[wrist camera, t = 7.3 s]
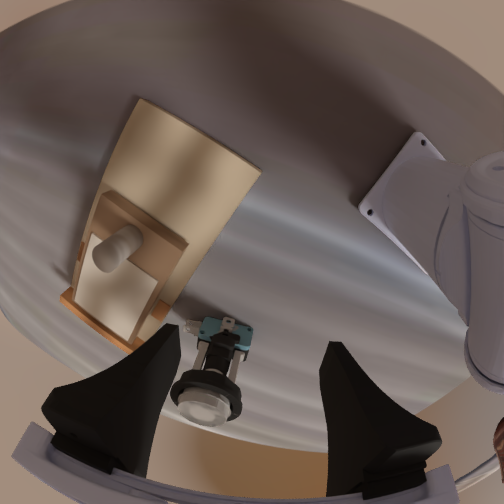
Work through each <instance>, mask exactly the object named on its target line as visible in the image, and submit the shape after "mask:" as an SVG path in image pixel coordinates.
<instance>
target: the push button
mask: <svg viewBox="0 0 504 504" xmlns="http://www.w3.org/2000/svg"><path fill="white" fill-rule="evenodd" d="M227 320H229V321H231V323H230V322H227ZM189 322H192V323H193V325H191V324H190V323H189ZM234 323H235V320H234V319H232V318H228V317H224V318H223V320H219V319H215V318H211V317H205V318H204V321H203V322H201V321H193V320H190V319H187V320H186V325H184V326H183V331H185V332H188V333H192V334H194V336H198V342H197V349H198V350H199V353H198V355H197V358H196V360H195V363H194V366H193V368H192V370H189V371H186V372H184V373H183V374H182V376H181V378H180V380H179V381H177V382H175V383H174V384H173V386H172V388H171V391H170V396H171V399H172V400H173V402H174V403H175V404H176V406H177V407H178V411H179V412H180V414H181V415H182V416H183V417H185V418H186V419H188V420H189V421H191V422H194V423H196V424H199V425H203V426H209V427H214V426H221V425H223V424H225V422H227V421H231V420H234V419H236V418H237V417H238V416H239V415H240V414H241V411H242V402H241V391H240V388H239V387H238V386H237V385H236V384H235V382H236V377H237V373H238V368H239V364H240V361H246V358H247V355H248V351H249V348H250V345H251V340H252V334H253V328H251V327H248V326H242V325H238V324H234ZM187 328H190V331H188V330H187ZM205 357H206V362H205V365H204V368H203V370H201V369H202V366H203V363H204V360H205ZM231 359H233V361H232V365H231V369H230V373H229V377H227V376H226V375H227V372H228V369H229V365H230V362H231Z"/></svg>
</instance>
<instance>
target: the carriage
mask: <svg viewBox="0 0 504 504" xmlns="http://www.w3.org/2000/svg"><path fill="white" fill-rule="evenodd" d="M188 245H189V243H187V242H186V241H184V240H183V239H181V238H180V237H179V236H177V235H176V234H174V233H173V232H171V231H170V230H168V229H167V228H165V227H164V226H163V225H161V224H160V223H158V222H157V221H155V220H154V219H152V218H151V217H150V216H148V215H147V214H145V213H144V212H142V211H141V210H140V209H138V208H137V207H135V206H134V205H133V204H131V203H130V202H128V201H127V200H125V199H124V198H123V197H121V196H120V195H118V194H117V193H116V192H114V191H113V190H109V191H107V192H105V193H102V194H101V196H100V198H99V201H98V204H97V207H96V210H95V213H94V216H93V219H92V222H91V225H90V228H89V231H88V235H87V238H86V241H85V245H84V249H83V252H82V256H81V260H80V264H79V268H78V272H77V276H76V281H75V286H74V290H73V295H72V301H73V302H75V303H76V304H77V305H78V306H79V307H81V308H82V309H83V310H84V311H86V312H87V313H88V314H89V315H91V316H92V317H93V318H95V319H96V320H97V321H98V322H100V323H101V324H102V325H104V326H105V327H106V328H108V329H109V330H110V331H112V332H113V333H115V334H116V335H117V336H119V337H120V338H122V339H123V340H125V341H126V342H127V343H129V344H130V345H132V343H133V342H134V340H135V339H136V337H137V335H138V334H139V332H140V330H141V328H142V326H143V324H144V322H145V320H146V318H147V317H148V315H149V313H150V311H151V309H152V307H153V306H154V304H155V302H156V300H157V298H158V297H159V295H160V293H161V291H162V289H163V288H164V286H165V284H166V282H167V281H168V279H169V277H170V275H171V274H172V272H173V270H174V269H175V267H176V265H177V263H178V262H179V260H180V258H181V257H182V255H183V253H184V252H185V250H186V248H187V247H188Z"/></svg>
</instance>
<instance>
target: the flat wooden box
mask: <svg viewBox="0 0 504 504" xmlns="http://www.w3.org/2000/svg"><path fill="white" fill-rule="evenodd" d="M261 173H262V170H260V169H259V168H257V167H256V166H254V165H253V164H251V163H250V162H248V161H247V160H245V159H244V158H242V157H241V156H239V155H238V154H236V153H235V152H233V151H232V150H230V149H229V148H227V147H226V146H224V145H222V144H221V143H219V142H218V141H216V140H215V139H213V138H211V137H210V136H208V135H206V134H205V133H203V132H202V131H200V130H198V129H197V128H195V127H193V126H192V125H190V124H188V123H187V122H185V121H183V120H182V119H180V118H178V117H176V116H175V115H173V114H171V113H169V112H168V111H166V110H164V109H162V108H161V107H159V106H157V105H155V104H153V103H152V102H150V101H148V100H146V99H141V98H140V99H139V101H138V103H137V104H136V106H135V108H134V110H133V112H132V114H131V116H130V118H129V120H128V122H127V124H126V126H125V128H124V130H123V132H122V134H121V136H120V138H119V140H118V142H117V144H116V147H115V149H114V151H113V153H112V156H111V158H110V160H109V163H108V165H107V167H106V170H105V172H104V175H103V177H102V180H101V183H100V185H99V188H98V191H97V193H96V196H95V199H94V202H93V205H92V208H91V211H90V214H89V217H88V220H87V224H86V227H85V230H84V234H83V237H82V241H81V244H80V248H79V252H78V256H77V260H76V264H75V269H74V273H73V278H72V283H71V286H70V287H69V288H68V289H67V290H66V291H65V292H64V293H62V294H61V295H60V302H61V303H62V304H64V305H65V306H66V307H67V308H68V309H69V310H71V311H72V312H73V313H74V314H75V315H77V316H78V317H79V318H80V319H81V320H83V321H84V322H85V323H86V324H88V325H89V326H90V327H92V328H93V329H94V330H95V331H97V332H98V333H99V334H101V335H102V336H103V337H105V338H106V339H108V340H109V341H110V342H112V343H113V344H115V345H116V346H117V347H119V348H120V349H122V350H123V351H125V352H126V353H128V354H131V353H132V352H133V351H135V350H136V349H137V348H139V347H140V346H141V345H142V344H143V343H145V342H146V341H147V340H148V339H149V338H150V337H152V336H153V335H154V334H155V333H156V331H157V330H158V328H159V327H160V325H161V323H162V322H163V320H164V318H165V317H166V315H167V314H168V312H169V310H170V309H171V307H172V306H173V304H174V302H175V301H176V299H177V298H178V296H179V295H180V293H181V291H182V290H183V288H184V287H185V285H186V284H187V282H188V280H189V279H190V277H191V276H192V274H193V273H194V271H195V270H196V268H197V267H198V265H199V263H200V262H201V260H202V259H203V257H204V256H205V254H206V253H207V251H208V250H209V248H210V247H211V245H212V244H213V242H214V241H215V239H216V238H217V236H218V235H219V233H220V232H221V230H222V229H223V227H224V226H225V225H226V223H227V222H228V220H229V219H230V217H231V216H232V214H233V213H234V211H235V210H236V208H237V207H238V206H239V204H240V203H241V201H242V200H243V198H244V197H245V196H246V194H247V193H248V191H249V190H250V188H251V187H252V186H253V184H254V183H255V181H256V180H257V179H258V177H259V176H260V174H261ZM109 190H113V191H114V192H116V193H117V194H118V195H120V196H121V197H123V198H124V199H125V200H127V201H128V202H130V203H131V204H133V205H134V206H135V207H137V208H138V209H140V210H141V211H142V212H144V213H145V214H147V215H148V216H150V217H151V218H152V219H154V220H155V221H157V222H158V223H160V224H161V225H163V226H164V227H165V228H167V229H168V230H170V231H171V232H173V233H174V234H176V235H177V236H179V237H180V238H181V239H183V240H184V241H186V242H187V243H189V245H188V247H187V248H186V250H185V252H184V253H183V255H182V257H181V258H180V260H179V262H178V263H177V265H176V267H175V269H174V270H173V272H172V274H171V275H170V277H169V279H168V281H167V282H166V284H165V286H164V288H163V289H162V291H161V293H160V295H159V297H158V298H157V300H156V302H155V304H154V306H153V307H152V309H151V311H150V313H149V315H148V317H147V318H146V320H145V322H144V324H143V326H142V328H141V330H140V332H139V334H138V335H137V337H136V339H135V340H134V342H133V343H132V345H130V344H129V343H127V342H126V341H125V340H123V339H122V338H120V337H119V336H117V335H116V334H115V333H113V332H112V331H110V330H109V329H108V328H106V327H105V326H104V325H102V324H101V323H100V322H98V321H97V320H96V319H95V318H93V317H92V316H91V315H89V314H88V313H87V312H86V311H84V310H83V309H82V308H81V307H79V306H78V305H77V304H76V303H75V302H73V301H72V295H73V290H74V286H75V281H76V276H77V272H78V268H79V264H80V260H81V256H82V252H83V249H84V245H85V241H86V238H87V235H88V231H89V228H90V225H91V222H92V219H93V216H94V213H95V210H96V207H97V204H98V201H99V198H100V196H101V194H102V193H105V192H107V191H109Z"/></svg>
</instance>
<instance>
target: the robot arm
mask: <svg viewBox="0 0 504 504" xmlns="http://www.w3.org/2000/svg"><path fill="white" fill-rule="evenodd" d="M421 140H423V141H424V145H423V146H422V145H421ZM358 209H359V211H360V213H361V214H362V215H364V216H365V217H366V218H367V219H368V220H369V221H371V222H372V223H373V224H374V225H375V226H376V227H377V228H378V229H380V230H381V231H382V232H383V233H384V234H385V235H386V236H387V237H388V238H389V239H390V240H392V241H393V242H394V243H395V244H396V245H397V246H398V247H399V248H400V249H401V250H402V251H403V252H404V253H405V254H406V255H407V256H408V257H409V258H410V259H411V260H412V261H413V262H414V263H415V264H416V265H417V266H418V267H419V268H420V269H421V270H422V271H423V272H424V273H425V274H426V275H429V276H430V277H431V278H432V280H433V281H434V282H435V283H436V284H437V286H438V287H439V288H440V289H441V291H442V292H443V293H444V295H445V296H446V297H447V298H448V300H449V301H450V302H451V303H452V304H453V305H454V306H455V307H456V308H457V309H458V314H459V316H460V317H461V318H462V320H463V321H464V323H465V324H466V325H467V326H469V328H468V330H467V332H466V338H465V343H464V356H465V361H466V365H467V368H468V370H469V371H470V373H471V375H472V376H473V378H474V379H475V380H476V381H477V382H478V383H479V384H480V385H481V386H482V387H484V388H486V389H488V390H489V391H492V392H494V393H498V394H504V151H500V152H495V153H492V154H489V155H486V156H483V157H481V158H479V159H478V160H476V161H475V162H474V163H473V164H472V165H471V166H470V167H467V166H463V165H460V164H456V163H452V162H448V161H446V160H445V159H444V157H443V156H442V155H441V154H440V153H439V151H438V150H437V149H436V148H435V147H434V146H433V145H432V143H431V142H430V141H429V140H428V139H427V138H426V137H425V136H424V135H423V134H422V133H421V132H414V133H413V134H412V136H411V137H410V138H409V140H408V141H407V142H406V144H405V145H404V146H403V148H402V149H401V151H400V152H399V153H398V155H397V156H396V157H395V159H394V160H393V161H392V163H391V164H390V165H389V166H388V168H387V169H386V170H385V172H384V173H383V174H382V176H381V177H380V178H379V179H378V181H377V182H376V183H375V185H374V186H373V187H372V188H371V190H370V191H369V192H368V193H367V195H366V196H365V197H364V198H363V200H362V201H361V202H360V203H359V205H358ZM369 209H372V213H371V214H369V215H368V214H367V211H368V210H369ZM180 358H181V348H180V338H179V326H178V325H173V324H168V323H166V324H165V325H164V326H163V327H162V328H160V329H159V330H158V331H157V332H156V333H155V334H154V335H153V336H152V337H150V338H149V339H148V340H147V341H146V342H145V343H143V344H142V345H141V346H140V347H139V348H137V349H136V350H135V351H133V352H132V353H131V354H129V355H128V356H127V357H125V358H124V359H122V360H121V361H119V362H118V363H116V364H115V365H113V366H111V367H110V368H108V369H106V370H104V371H102V372H100V373H98V374H96V375H94V376H91V377H89V378H86V379H84V380H81V381H78V382H75V383H72V384H68V385H65V386H61V387H57V388H54V389H53V390H52V392H51V393H50V395H49V396H48V398H47V399H46V401H45V402H44V404H43V405H42V407H41V409H42V412H43V414H44V416H45V417H46V419H47V420H48V421H49V423H50V424H51V425H52V426H53V427H54V429H55V430H56V433H55V435H53V434H51V433H50V432H49V431H47V430H46V429H44V428H42V427H41V426H39V425H37V424H36V423H34V422H31V423H30V425H29V426H28V428H27V430H26V431H25V433H24V435H23V436H22V438H21V440H20V441H19V443H18V445H17V447H16V449H15V450H14V452H13V454H12V458H13V459H14V460H15V461H16V462H18V463H19V464H20V465H21V466H22V467H24V468H25V469H26V470H27V471H29V472H30V473H31V474H33V475H34V476H35V477H37V478H38V479H39V480H41V481H42V482H44V483H45V484H47V485H49V486H50V487H52V488H53V489H55V490H57V491H58V492H60V493H62V494H63V495H65V496H67V497H69V498H70V499H72V500H74V501H76V502H78V503H80V504H168V502H167V501H170V502H175V503H178V504H459V502H460V500H459V497H458V493H457V489H456V486H455V483H454V479H453V476H452V473H451V470H450V467H449V465H448V464H447V465H444V466H441V467H439V468H436V469H433V470H431V471H428V472H427V473H425V472H424V468H426V466H427V465H426V461H425V460H427V459H428V458H429V457H430V456H431V455H432V454H433V453H435V452H436V451H437V450H438V449H439V447H440V446H441V444H442V440H441V437H440V434H439V432H438V430H437V427H436V426H434V425H431V424H430V423H428V422H425V421H423V420H421V419H420V418H418V417H416V416H415V415H413V414H411V413H410V412H408V411H407V410H405V409H404V408H402V407H401V406H400V405H398V404H397V403H396V402H394V401H393V400H392V399H391V398H390V397H388V396H387V395H386V394H385V393H384V392H383V391H382V390H381V389H380V388H379V387H378V386H377V385H376V384H375V383H374V382H373V381H372V380H371V379H370V378H369V377H368V375H367V374H366V373H365V372H364V371H363V370H362V368H361V367H360V366H359V365H358V363H357V362H356V361H355V359H354V358H353V357H352V355H351V354H350V353H349V351H348V350H347V349H346V347H345V346H344V345H343V343H342V342H333V341H329V344H328V347H327V350H326V353H325V355H324V358H323V361H322V364H321V367H320V369H319V377H320V390H321V396H322V401H323V407H324V412H325V417H326V423H327V431H328V480H327V492H326V497H322V498H307V499H260V498H245V497H234V496H225V495H218V494H211V493H205V492H199V491H193V490H189V489H184V488H179V487H175V486H171V485H167V484H163V483H159V482H155V481H152V480H149V479H146V475H147V468H148V462H149V456H150V452H151V447H152V442H153V438H154V434H155V430H156V425H157V422H158V419H159V415H160V412H161V409H162V406H163V404H164V402H165V399H166V397H167V395H168V392H169V390H170V387H171V385H172V383H173V380H174V378H175V375H176V373H177V369H178V366H179V362H180ZM165 500H166V501H165Z"/></svg>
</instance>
